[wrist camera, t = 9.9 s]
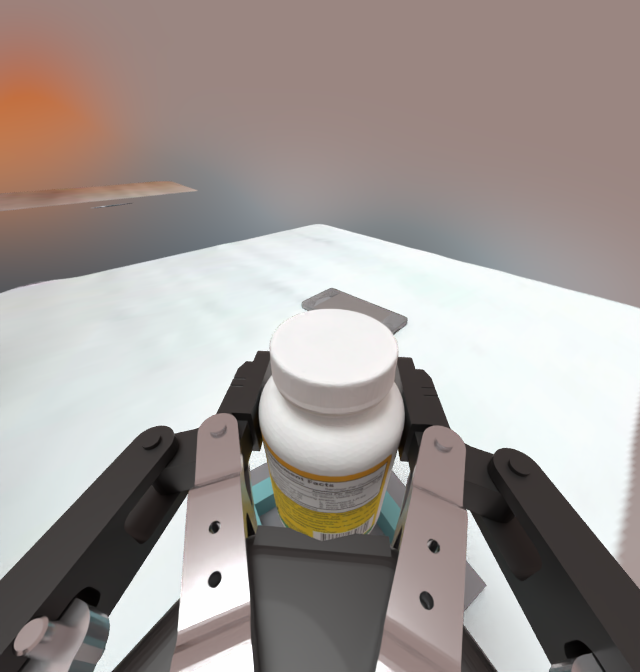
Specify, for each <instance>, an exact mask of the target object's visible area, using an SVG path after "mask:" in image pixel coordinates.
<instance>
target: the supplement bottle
mask: <svg viewBox="0 0 640 672" xmlns="http://www.w3.org/2000/svg"><path fill="white" fill-rule="evenodd" d="M269 348H270V361H271V369H272V376H271V377H270V378H269V380H268V381H267V383H266V385H265V387H264V389H263V391H262V394H261V398H260V403H259V422H260V428H261V433H262V438H263V443H264V448H265V453H266V458H267V463H268V468H269V473H270V478H271V483H272V488H273V493H274V498H275V503H276V507H277V511H278V515H279V517H280V520H281V522H282V524H283V526H284V527H287V528H291V529H294V530H296V531H298V532H301V533H303V534H306V535H308V536H310V537H313V538H315V539H318V540H321V541H325V540H329V539H334V538H338V537H342V536H347V535H351V534H356V533H357V534H369V533H370V532H371V531H372V529H373V528H374V526H375V524H376V522H377V520H378V517H379V514H380V511H381V507H382V504H383V500H384V496H385V493H386V489H387V485H388V482H389V478H390V474H391V471H392V467H393V464H394V460H395V457H396V453H397V450H398V447H399V444H400V440H401V436H402V432H403V428H404V422H405V410H404V403H403V399H402V396H401V393H400V391H399V389H398V387H397V385H396V384H395V382H394V380H395V370H396V365H397V360H398V344H397V340H396V338H395V337H394V335H393V333H392V332H391V331H390V330H389V329H388V328H387V327H386V326H385V325H383V324H382V323H381V322H379V321H377V320H376V319H374V318H372V317H369V316H367V315H365V314H362V313H358V312H354V311H349V310H342V309H318V310H311V311H307V312H304V313H301V314H297V315H295V316H293V317H291V318H289V319H287V320H286V321H284V322H283V323H282V324H280V325H279V326H278V327H277V329H276V330H275V331H274V333H273V335H272V337H271V340H270V347H269Z"/></svg>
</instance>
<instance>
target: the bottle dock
mask: <svg viewBox="0 0 640 672" xmlns="http://www.w3.org/2000/svg"><path fill="white" fill-rule="evenodd" d="M250 474H251V483H252V491H253V500H254V509H255V515H256V520H257V525H263V526H275V527H284V526H283V524H282V522H281V520H280V517H279V515H278V511H277V507H276V503H275V498H274V493H273V488H272V483H271V478H270V473H269V468H268V463H265V464H263V465H261V466H259V467H257V468H255V469H253V470H251V471H250ZM405 488H406V487H405V486H404V484H403V483H402V482H401V481H400V480H399V478H398V477H397V476H396V475H395V473H394V472H393V471H391V474H390V478H389V482H388V485H387V489H386V493H385V496H384V500H383V504H382V507H381V511H380V514H379V517H378V520H377V522H376V524H375V526H374V528H373V529H372V531H371V532H370V533H369V535H381V536H389V540H390V546H391V544H392V541H393V537H394V533H395V530H396V526H397V523H398V518H399V514H400V510H401V506H402V501H403V497H404V493H405ZM485 587H486V584H485V583H484V582H483V580H482V579H481V578H480V577H479V575H478V574H477V573H476V572H475V571H474V569H473V568H472V567H471V566H470V565H469V563H468V562H467V561H466V568H465V589H464V610H465V609H466V608H467V607H468V606H469V605H470V604H471V602H472V601H473V600H474V599H475V598H476V597H477V596H478V594H479V593H480V592H481V591H482V590H483V589H484V588H485ZM463 612H464V611H463Z"/></svg>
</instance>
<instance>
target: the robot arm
mask: <svg viewBox="0 0 640 672" xmlns="http://www.w3.org/2000/svg"><path fill="white" fill-rule="evenodd" d="M271 376H272V369H271V361H270V351H258V352H257V354H256V356H255V358H254V361H253V362H250V361H246V362H245V363H244V364H243V365H242V366H241V367H239V368H238V370H237V372H236V374H235V376H234V379H233V380H232V383H231V386H230V387H229V389H228V391H227V393H226V395H225V397H224V399H223V401H222V403H221V405H220V407H219V409H218V412H217V413H216V415H213V416H211V417H209V418H208V419H206V420H205V421H204V422H203V423H202V424H201V426H200V427H199V428H197V429H193V430H189V431H184V432H180V433H175V434H174V432H173V430H172V429H171V428H170V427H167V426H156V427H152V428H150V429H148V430H146V431H144V432H142V433H141V434H140V435H139V436H137V437H136V438H135V439H134V440H133V442H132V443H131V444H130V445H129V446H128V447H127V448H126V449H125V450H124V451H123V452H122V453H121V454H120V455H119V456H118V457H117V458H116V459H115V460H114V462H113V463H112V464H111V465H110V466H109V467H108V468H107V469H106V470H105V471H104V472H103V473H102V474H101V475H100V476H99V477H98V478H97V479H96V480H95V481H94V483H93V484H92V485H91V486H90V487H89V488H88V489H87V490H86V491H85V492H84V493H83V494H82V495H81V496H80V497H79V498H78V499H77V500H76V501H75V502H74V504H73V505H72V506H71V507H70V508H69V509H68V510H67V511H66V512H65V513H64V514H63V515H62V516H61V517H60V518H59V519H58V520H57V521H56V522H55V524H54V525H53V526H52V527H51V528H50V529H49V530H48V531H47V532H46V533H45V534H44V535H43V536H42V537H41V538H40V539H39V540H38V541H37V542H36V543H35V545H34V546H33V547H32V548H31V549H30V550H29V551H28V552H27V553H26V554H25V555H24V556H23V557H22V558H21V559H20V560H19V561H18V562H17V563H16V564H15V566H14V567H13V568H12V569H11V570H10V571H9V572H8V573H7V574H6V575H5V576H4V577H3V578H2V579H1V580H0V672H93V671H94V669H95V666H96V664H97V662H98V661H99V660H100V658H101V657H102V655H103V653H104V650H105V645H106V643H107V639H108V636H109V630H110V623H109V618H108V617H109V615H110V613H111V612H112V610H113V609H114V607H115V606H116V604H117V603H118V601H119V600H120V598H121V596H122V595H123V593H124V592H125V590H126V589H127V587H128V586H129V584H130V583H131V581H132V579H133V578H134V576H135V575H136V573H137V572H138V570H139V569H140V567H141V566H142V564H143V562H144V561H145V559H146V558H147V556H148V555H149V553H150V552H151V550H152V549H153V547H154V545H155V544H156V542H157V541H158V539H159V538H160V536H161V535H162V533H163V532H164V530H165V528H166V527H167V525H168V524H169V522H170V521H171V519H172V518H173V516H174V515H175V513H176V511H177V510H178V508H179V507H180V505H181V504H182V502H183V501H184V499H185V498H186V496H187V494H188V500H187V514H186V527H185V541H184V555H183V568H182V582H181V596H180V598H179V599H178V600H177V602H176V603H175V604H174V605H173V606H172V607H171V608H170V609H169V610H168V611H167V612H166V613H165V615H164V616H163V617H162V618H161V619H160V620H159V621H158V622H157V623H156V624H155V625H154V626H153V628H152V629H151V630H150V631H149V632H148V633H147V634H146V635H145V636H144V637H143V638H142V639H141V640H140V642H139V643H138V644H137V645H136V646H135V647H134V648H133V649H132V650H131V651H130V652H129V653H128V655H127V656H126V657H125V658H124V659H123V660H122V661H121V662H120V663H119V664H118V665H117V666H116V667H115V669H114V670H113V671H112V672H498V671H497V670H496V669H495V667H494V666H493V664H492V663H491V662H490V660H489V659H488V658H487V656H486V655H485V653H484V652H483V651H482V649H481V648H480V647H479V645H478V644H477V642H476V641H475V640H474V638H473V637H472V636H471V634H470V633H469V631H468V630H467V629H466V627H465V626H464V625H463V611H464V589H465V568H466V546H467V524H468V515H467V510H470V512H471V513H472V515H473V517H474V519H475V521H476V523H477V525H478V527H479V529H480V530H481V532H482V534H483V536H484V538H485V540H486V542H487V544H488V546H489V548H490V549H491V551H492V553H493V555H494V557H495V559H496V561H497V563H498V565H499V567H500V568H501V570H502V572H503V574H504V576H505V578H506V580H507V582H508V584H509V586H510V587H511V589H512V591H513V593H514V595H515V597H516V599H517V601H518V603H519V604H520V606H521V608H522V610H523V612H524V614H525V616H526V618H527V620H528V622H529V623H530V625H531V627H532V629H533V631H534V633H535V635H536V637H537V639H538V641H539V642H540V644H541V646H542V648H543V650H544V652H545V654H546V656H547V658H548V660H549V661H550V663H551V665H552V666H551V668H550V670H549V672H640V589H639V588H638V587H637V586H636V584H635V583H634V582H633V581H632V580H631V578H630V577H629V576H628V575H627V573H626V572H625V571H624V570H623V568H622V567H621V566H620V565H619V564H618V562H617V561H616V560H615V559H614V557H613V556H612V555H611V554H610V553H609V551H608V550H607V549H606V548H605V546H604V545H603V544H602V543H601V542H600V540H599V539H598V538H597V537H596V535H595V534H594V533H593V532H592V531H591V529H590V528H589V527H588V526H587V524H586V523H585V522H584V521H583V520H582V518H581V517H580V516H579V515H578V513H577V512H576V511H575V510H574V509H573V507H572V506H571V505H570V504H569V502H568V501H567V500H566V499H565V498H564V496H563V495H562V494H561V493H560V491H559V490H558V489H557V488H556V487H555V485H554V484H553V483H552V482H551V480H550V479H549V478H548V477H547V476H546V474H545V473H544V472H543V471H542V469H541V468H540V467H539V466H538V465H537V463H536V462H535V461H533V460H532V459H531V458H530V457H529V456H527V455H526V454H524V453H522V452H520V451H517V450H515V449H511V448H502V449H499V450H497V451H496V452H495V454H491V453H488V452H485V451H482V450H479V449H476V448H474V447H471V446H469V445H467V444H465V443H464V442H463V440H462V439H461V437H460V436H459V435H458V434H457V433H455V432H454V431H453V430H451V429H450V427H449V424H448V421H447V419H446V416H445V413H444V411H443V408H442V405H441V403H440V400H439V398H438V395H437V392H436V390H435V387H434V384H433V381H432V379H431V377H430V376H429V375H428V374H427V373H426V372H425V371H424V370H420V369H415V366H414V363H413V360H412V358H408V357H398V360H397V365H396V370H395V380H394V382H395V384H396V385H397V387H398V389H399V391H400V393H401V396H402V399H403V403H404V410H405V422H404V428H403V432H402V436H401V440H400V444H399V447H398V451H399V457H400V461H406V462H409V467H410V473H409V476H408V480H407V484H406V488H405V493H404V497H403V501H402V506H401V510H400V514H399V518H398V523H397V526H396V530H395V533H394V537H393V541H392V544H391V546H390V540H389V536H381V535H369V534H357V533H356V534H351V535H347V536H342V537H338V538H334V539H329V540H325V541H321V540H318V539H315V538H313V537H310V536H308V535H306V534H303V533H301V532H298V531H296V530H294V529H291V528H287V527H275V526H263V525H257V520H256V515H255V509H254V500H253V491H252V483H251V474H250V465H249V459H250V455H251V452H252V451H260V449H261V445H262V442H263V438H262V433H261V428H260V422H259V403H260V398H261V394H262V391H263V389H264V387H265V385H266V383H267V381H268V380H269V378H270V377H271ZM466 509H467V510H466Z"/></svg>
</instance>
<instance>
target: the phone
mask: <svg viewBox="0 0 640 672" xmlns="http://www.w3.org/2000/svg"><path fill="white" fill-rule="evenodd" d="M302 308H303V309H306V310H308V311H311V310H318V309H342V310H349V311H354V312H358V313H362V314H365V315H367V316H369V317H372V318H374V319H376V320H377V321H379V322H381V323H382V324H383V325H385V326H386V327H387V328H388V329H389V330H390V331H391V332H392V333H394V332H396V331H397V330H398V329H399V328H400V329H401V328H403V327H404V326H405V325H406V324H407V321H408V320H407V317H405V316H402V315H400V314H397V313H395V312H392V311H390V310H387V309H385V308H382V307H380V306H377V305H375V304H372V303H370V302H367V301H364V300H362V299H359V298H357V297H354V296H352V295H349V294H347V293H344V292H342V291H339V290H337V289H334V288H330V289H327V290H325V291H323V292H321V293H319V294H317V295H315V296H313V297H311V298H309V299H307V300H305V301H303V302H302Z"/></svg>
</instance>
